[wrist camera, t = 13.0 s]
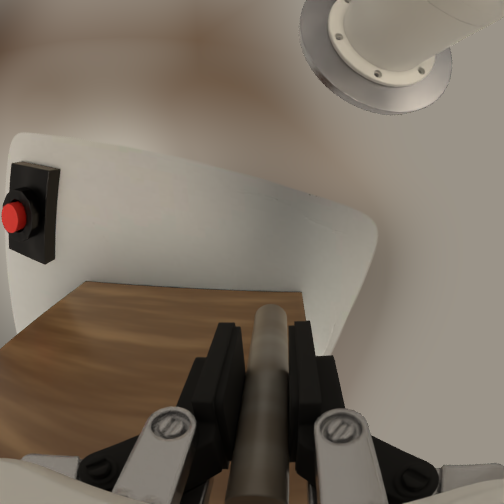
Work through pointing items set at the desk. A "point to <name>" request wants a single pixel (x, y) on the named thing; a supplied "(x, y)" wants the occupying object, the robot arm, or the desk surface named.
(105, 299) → the cupboard door
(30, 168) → the button block
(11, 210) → the button
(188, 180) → the desk surface
